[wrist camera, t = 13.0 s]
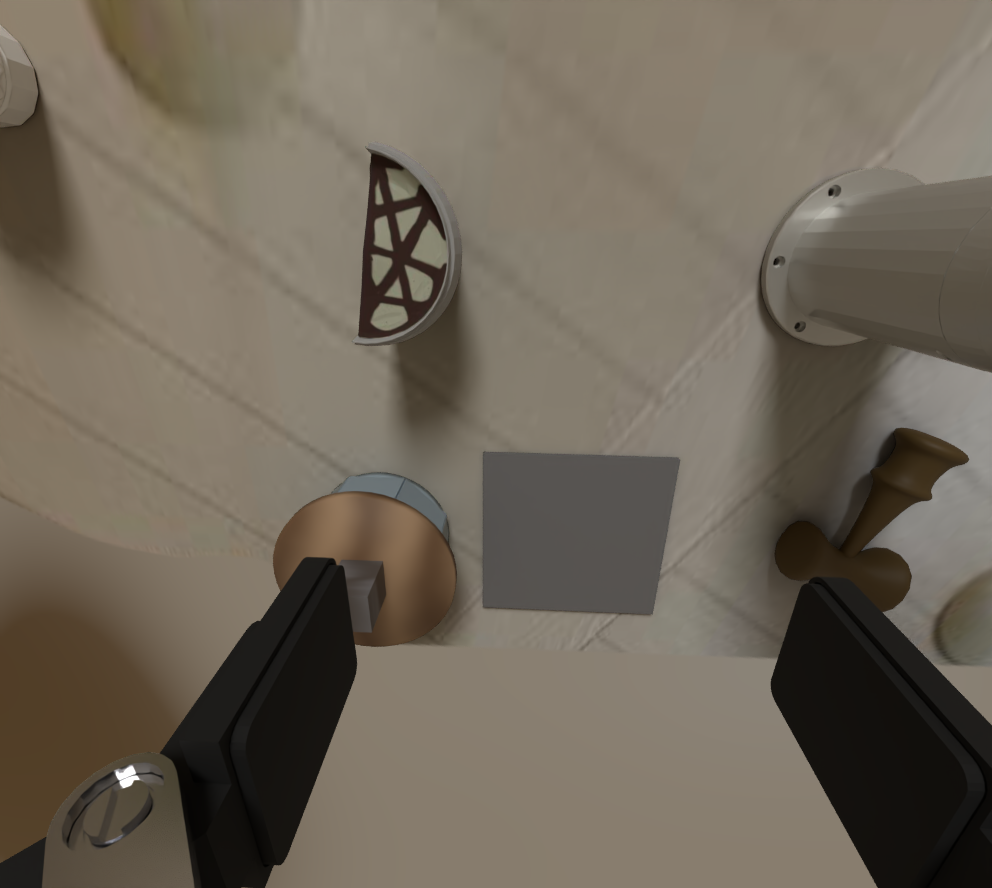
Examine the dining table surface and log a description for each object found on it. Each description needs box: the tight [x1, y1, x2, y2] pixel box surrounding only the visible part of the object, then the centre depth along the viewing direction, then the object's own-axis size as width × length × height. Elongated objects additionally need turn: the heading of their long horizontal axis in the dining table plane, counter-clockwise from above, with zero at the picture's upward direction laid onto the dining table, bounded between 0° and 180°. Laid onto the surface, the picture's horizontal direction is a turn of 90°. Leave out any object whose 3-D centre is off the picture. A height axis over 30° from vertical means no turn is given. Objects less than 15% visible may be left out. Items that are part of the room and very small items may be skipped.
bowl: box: [331, 472, 449, 542], centre depth 46 cm, size 13×13×6 cm
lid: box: [273, 491, 457, 647], centre depth 40 cm, size 16×16×6 cm
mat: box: [483, 452, 680, 614], centre depth 48 cm, size 18×18×1 cm
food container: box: [352, 142, 462, 346], centre depth 34 cm, size 12×6×10 cm, turn 169°
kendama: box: [775, 428, 969, 612], centre depth 44 cm, size 6×10×20 cm
